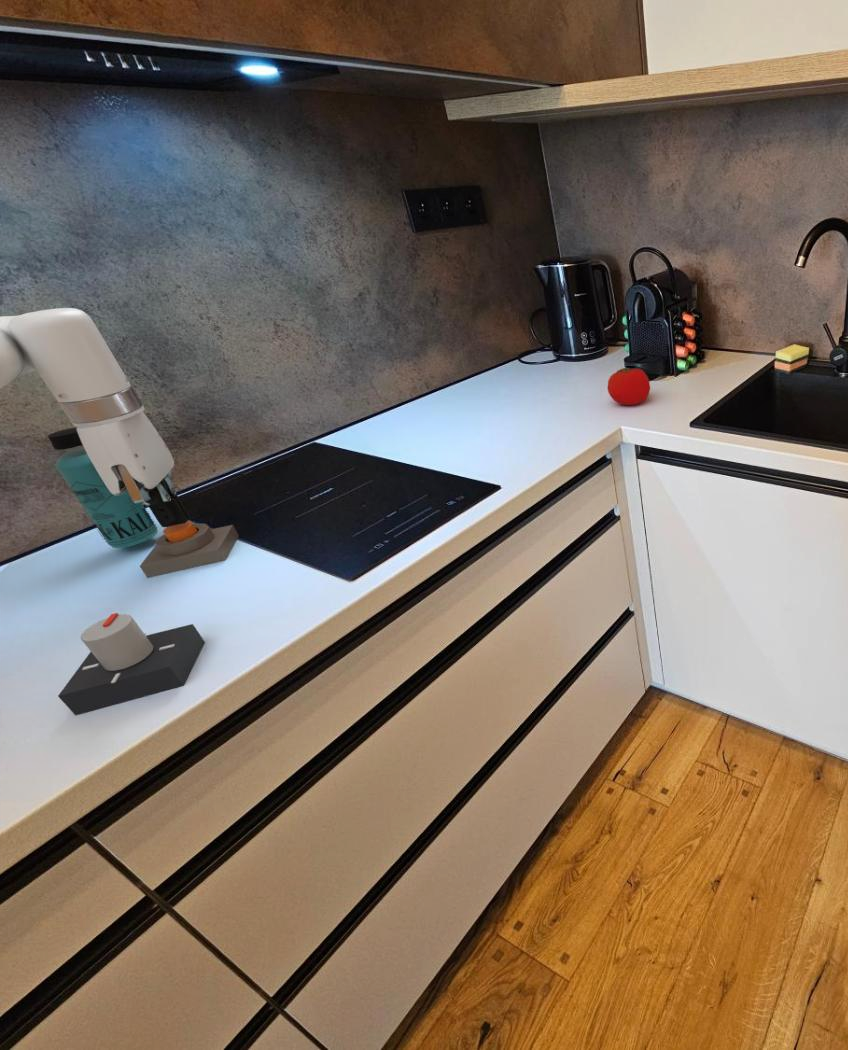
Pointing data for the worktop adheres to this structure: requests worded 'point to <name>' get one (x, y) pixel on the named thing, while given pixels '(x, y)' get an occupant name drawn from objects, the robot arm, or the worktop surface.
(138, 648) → the dial
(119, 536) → the beverage bottle
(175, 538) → the lid button
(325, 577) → the worktop surface
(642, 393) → the tomato
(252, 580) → the worktop surface
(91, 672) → the black angular plate
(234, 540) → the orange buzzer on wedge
